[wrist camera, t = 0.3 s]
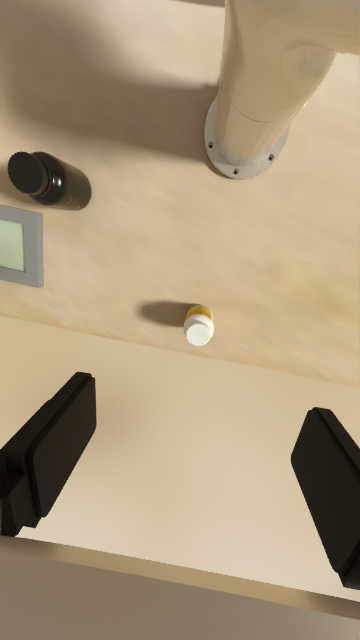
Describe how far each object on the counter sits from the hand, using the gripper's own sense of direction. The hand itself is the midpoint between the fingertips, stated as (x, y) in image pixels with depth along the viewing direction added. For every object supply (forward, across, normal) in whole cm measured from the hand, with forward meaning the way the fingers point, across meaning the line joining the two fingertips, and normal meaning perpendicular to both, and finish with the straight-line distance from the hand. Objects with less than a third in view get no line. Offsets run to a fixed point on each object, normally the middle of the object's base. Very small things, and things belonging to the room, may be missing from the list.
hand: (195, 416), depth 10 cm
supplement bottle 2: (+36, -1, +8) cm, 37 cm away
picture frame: (+36, +39, -2) cm, 53 cm away
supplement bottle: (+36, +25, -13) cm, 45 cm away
